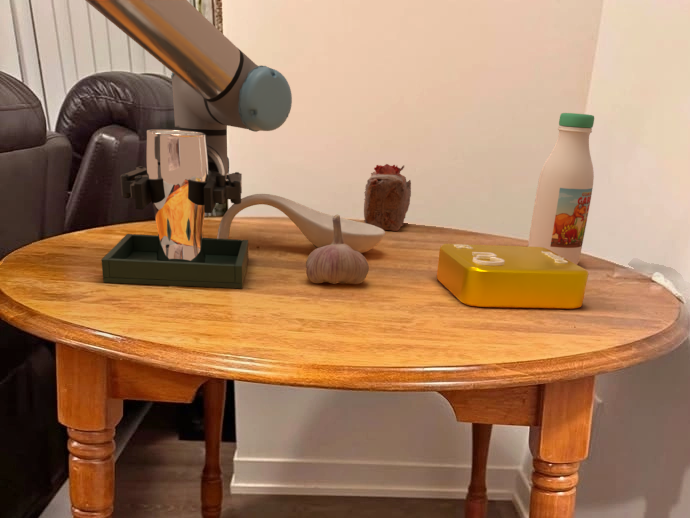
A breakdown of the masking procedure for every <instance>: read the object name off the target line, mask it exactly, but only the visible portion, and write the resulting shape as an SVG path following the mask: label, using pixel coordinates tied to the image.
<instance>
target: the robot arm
mask: <svg viewBox="0 0 690 518" xmlns="http://www.w3.org/2000/svg"><path fill="white" fill-rule="evenodd" d="M84 1H85V2H86V3H88V4H89V5H90V6H91V7H93V8H94V9H95V10H96V11H98V12H99V13H100V14H101V15H102V16H103V17H105V18H106V19H107V20H108V21H110V22H111V23H112V24H113V25H114V26H116V28H118V29H119V30H121V31H122V32H123V33H124V34H125V35H127V36H128V38H130V39H132V41H134V42H135V43H137V45H139V46H140V47H141V48H143V50H144V51H146V52H147V53H148V54H150V55H151V56H152V57H153V58H155V59H156V60H157V61H158V62H159V63H160V64H161V65H163V66H164V67H165V68H167V69H168V70H169V71H171V74H170V79H171V83H172V100H173V117H174V130H183V131H194V132H201V133H204V134H205V140H206V149H207V160H208V183H207V184H206V185H205V187H204V213H205V214H212V212H213V211H214V210H215V207H216V205H217V204H218V205H224V204H226V203H227V200H230V203H231V204H240V203H241V199H242V193H243V184H242V183H243V180H242V179H243V178H242V175H243V174H242V173H240V172H239V171H235V172H231V173H230V158H229V157H228V126H229V127H233V128H239V129H243V130H249V131H251V132H256V133H257V132H271V131H274V130H277V129H279V128H280V127H282V126H283V125H284V124H285V122H286V121H287V119H288V118H289V115H290V113H291V110H292V106H293V105H292V104H293V94H292V89H291V87H290V86H291V85H290V83H289V82H288V80H287V78H286V77H285V76H284V74H283V73H281V72H280V71H278V70H277V69H274V68H272V67H269V66H266V65H257V64H256V63H255V62H254V61H253V60H252V59H251V58H250V57H249V56H247V54H245V53H244V52H243V51H242V50H241V49H240V48H239V47H237V46H236V45H235V44H234V43H233V42H232V41H231V40H230V39H229V38H228V37H226V35H224V33H222V32H221V31H220V30H219V29H218V28H217V27H216V26H215V25H214V24H213V23H212V22H211V21H210V20H209V19H208V18H206V17H205V15H204V14H203V13H201V12H200V11H199V10H198V9H197V8H196V7H195V6H194V5H192V3H191V2H190V1H189V0H84ZM119 177H120V190H121V198H125V199H130V198H131V199H134V201H135V210H142V211H143V210H144V209H146V207H147V206H149V204H150V203H152V201H151V196H150V191H149V185H148V177H147V167H144V166H143V165H142V166H141V165H138V166H137V167H135V169H134V170H131V171H129V172H128V171H127V172H126V173H122V174H120V176H119Z"/></svg>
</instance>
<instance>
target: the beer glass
mask: <svg viewBox="0 0 690 518" xmlns="http://www.w3.org/2000/svg"><path fill="white" fill-rule="evenodd" d="M146 169H147V177H148V185H149V191H150V196H151V205H152V210H153V214H154V219H155V223H156V229H157V235H158V250H157V258H156V261H176V262H197V263H207V261H206V256H205V251H204V245H203V238H204V221H205V214H206V213H204V187H205V185H206V184H207V183H208V160H207V149H206V140H205V134H204V133H201V132H194V131H183V130H175V129H147V130H146Z"/></svg>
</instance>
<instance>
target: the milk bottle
mask: <svg viewBox="0 0 690 518" xmlns="http://www.w3.org/2000/svg"><path fill="white" fill-rule="evenodd" d="M594 124H595V116H594V115H592V114H587V113H574V112H562V113H560V115H559V121H558V128H557V130H558V137H557V139H556V142H555V144H554V147H552V150H551V152H550V153H549V155H548V156H547V158H546V160H545V162H544V164H543V166H542V168H541V171H540V174H539V178H538V183H537V187H536V192H535V199H534V206H533V210H532V215H531V216H532V217H531V223H530V230H529V236H528V242H527V246H529V247H543V248H546V249H548V250H550V251H552V252H554V253H556V254H558V255H560V256H562V257H563V258H565V259H567V260H569V261H571V262H573V263H574V264H576V265H578V264H579V262H580V258H581V253H582V249H583V243H584V237H585V233H586V227H587V222H588V216H589V212H590V206H591V200H592V195H593V187H594V178H595V176H594V175H595V174H594V167H593V161H592V156H591V151H590V136H591V133H592V132H593V127H594Z"/></svg>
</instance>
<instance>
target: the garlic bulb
mask: <svg viewBox="0 0 690 518" xmlns="http://www.w3.org/2000/svg"><path fill="white" fill-rule="evenodd" d="M332 216H333V228H334V237H333V242H332V244H331V245H326V246H323V247H320V248H317V247H316V248H315V249H313V250H312V251H311V252H310V253H309V255H308V256H307V258H306V261H305V268H306V269H305V270H306V276H307V278H308V280H309V281H310V282H311V283H314V284H322V283H330V284H332V285H336V284H342V285H344V284H345V285H346V284H349V285H359V284H361V283H362V284H363V282H364V281H365V280H366V278H367V277H368V274H369V272H370V271H369V270H370V266H369V262H368V260H367V258H366V257H365V255H363V253H360V252H358V251H355V250H353V249H352V248H351V247H350V246H348V245H346V244H344V240H343V236H342V231H341V223H340V218H341V215H339V214H335V215H332Z"/></svg>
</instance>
